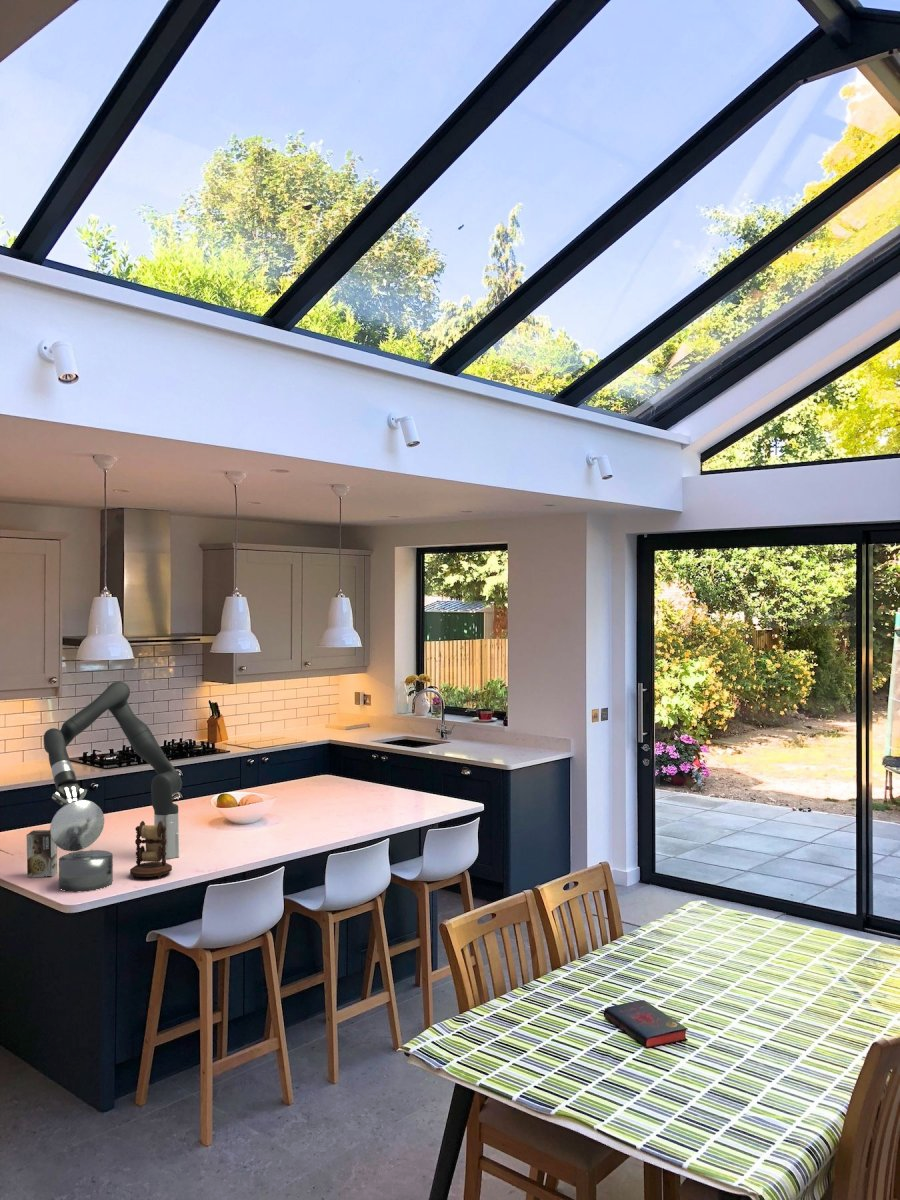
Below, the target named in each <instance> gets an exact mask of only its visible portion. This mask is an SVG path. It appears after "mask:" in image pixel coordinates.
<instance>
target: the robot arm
mask: <svg viewBox="0 0 900 1200" xmlns="http://www.w3.org/2000/svg"><path fill="white" fill-rule="evenodd" d="M130 694H131V689H130V686H129V685H128V684H127V683H125V682H123V681H114V682H112V683H110V684H109V685H108V686H107V688H105V690H103V692H102V693H101V694H100V695H98V696H97V697H96V698H95V699H94V700H93V701H91V702H90V703H89V704H87V705H86V706H85V707H84V708H82V709H81V710H79V711H78V712H77V713H75V714H74V715H72V716H71V717H70V718H68V719H67V720H66V721H64V722H63V723H62V724H61V728H60V729H58V728H56V727H55V728H54V727H53V728H51V727H50V728H49V729H48V730H46V731H45V732H44V734H43V748H44V750H45V752H46V753H47V754H48V761H49V765H50V769H51V774H52V779H53V782H54V785H55V789H56V790H55V793H53V794H52V796H51V800H52V801H54V802H56V803H57V804H58V805H60V806H61V807H63V806H64V805H66V804H68V803H70V802H72V801H75V800H84V798H85V797H86V795H87V792H88V789H87V788H84V789H83V788H81V786H80V785H79V783H78V780H77V776H76V773H75V770H74V767H73V764H72V763H71V760H70V759H71V758H70V756H69V753H68V751H67V747H68V745H69V744H70V743H71V742H72V741H73V740H74V739H75V738H76V737H77V736H78V735H80V734H81V733H83V732H84V731H85V730H86V729H88V728H89V727H90V726H91V725H93V724H94V723H95V722H96V720H97V719H99V717H100V716H101V715H103V714H104V713H105V712H106V711H107V710H108V711H109V712H110V713H111V715H112V716H113V717H114V719H115V720H116V721H117V723H118V725H119V727H120V729H121V730H122V732H123V734H124V736H125V737H126V739H127V741H128V742H129V745H130V746H131V748H132V749H133V751H134V752H135V754H136V755H137V756H139V757H140V758H141V759H142V760H144V761H145V762H146V763H148V765H150V766H151V767H152V769H154V771H155V772H156V774H157V775H155V776H154V777H153V778H152V781H151V784H150V785H151V787H150V790H151V792H150V793H151V805H152V808H153V814H154V815H153V817H154V819H153V820H154V821H153V823H154V824H153V825H158V823H159V821H162V823H163V826H165V827H166V831H165V832H166V833H165V835H166V838H165V839H166V840H167V842H166V845H165V848H166V850H165V852H166V856H165V857H166V858H165V860H168V859H169V858H170V859H174V858H179V856H180V854H179V853H180V850H179V849H180V846H179V845H180V842H179V841H180V839H179V836H180V835H179V833H180V832H179V805H178V804H176V803H174V802H173V795H174V794H177V793H179V792H180V791H181V790H182V787H183V781H182V780H183V779H182V777H181V775H180V773H179V772H178V771H177V769H176V768H175V767H174V766H173V764H172V763H171V762H170V760H169V759H168V757H167V756H166V754H165V753H164V751H163V749H162V748H161V746H160V745H159V742H158V741H157V740H156V737H155V736H154V734H153V732H152V731H151V729H150V728H149V726H148V725H147V724H146V723H145V722H144V721H143V720H141V719H140V718H139V717H137V715H135V713H134V712H133V710H132V708H131V707H130V704H129V702H128V700H129V698H130ZM78 794H79V798H78V797H77V796H78ZM161 839H162V835H161ZM162 857H163V856H162ZM162 859H163V858H162ZM162 859H161V860H162Z"/></svg>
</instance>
